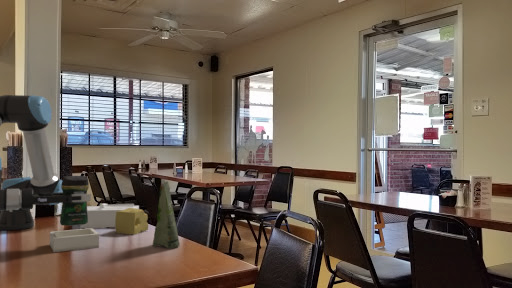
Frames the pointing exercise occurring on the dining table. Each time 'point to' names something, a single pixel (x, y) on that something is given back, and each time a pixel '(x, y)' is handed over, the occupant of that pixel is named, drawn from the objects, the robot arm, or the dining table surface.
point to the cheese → (131, 221)
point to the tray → (74, 239)
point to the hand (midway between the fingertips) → (88, 196)
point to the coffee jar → (76, 210)
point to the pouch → (165, 221)
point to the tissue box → (104, 215)
